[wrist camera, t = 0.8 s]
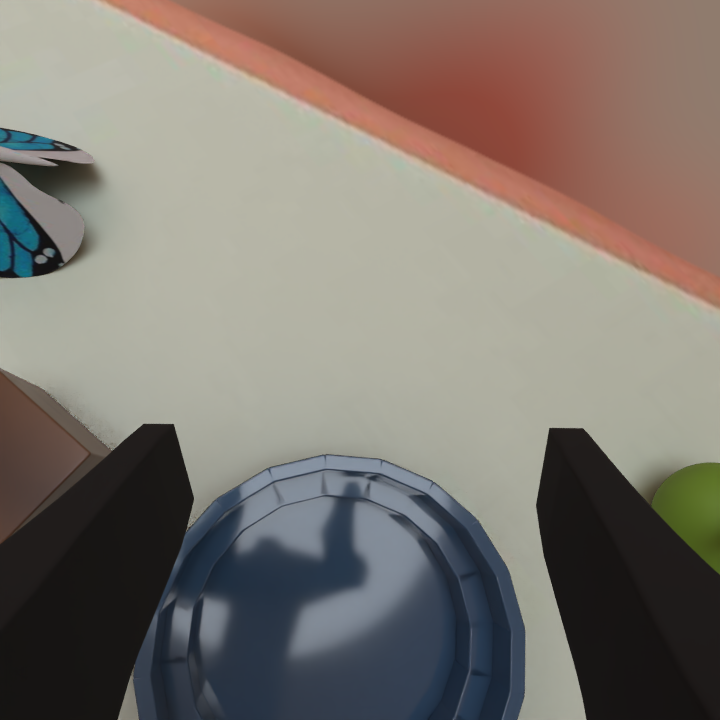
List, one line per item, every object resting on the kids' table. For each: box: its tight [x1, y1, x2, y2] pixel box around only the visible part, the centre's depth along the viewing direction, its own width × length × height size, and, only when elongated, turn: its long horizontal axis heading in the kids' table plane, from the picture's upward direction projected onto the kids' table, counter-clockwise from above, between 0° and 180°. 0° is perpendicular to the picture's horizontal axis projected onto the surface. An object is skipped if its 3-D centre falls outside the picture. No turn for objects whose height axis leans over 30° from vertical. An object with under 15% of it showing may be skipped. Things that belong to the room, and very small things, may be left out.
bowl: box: [133, 454, 525, 720], centre depth 24 cm, size 14×14×4 cm
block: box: [0, 368, 112, 544], centre depth 24 cm, size 5×5×5 cm
